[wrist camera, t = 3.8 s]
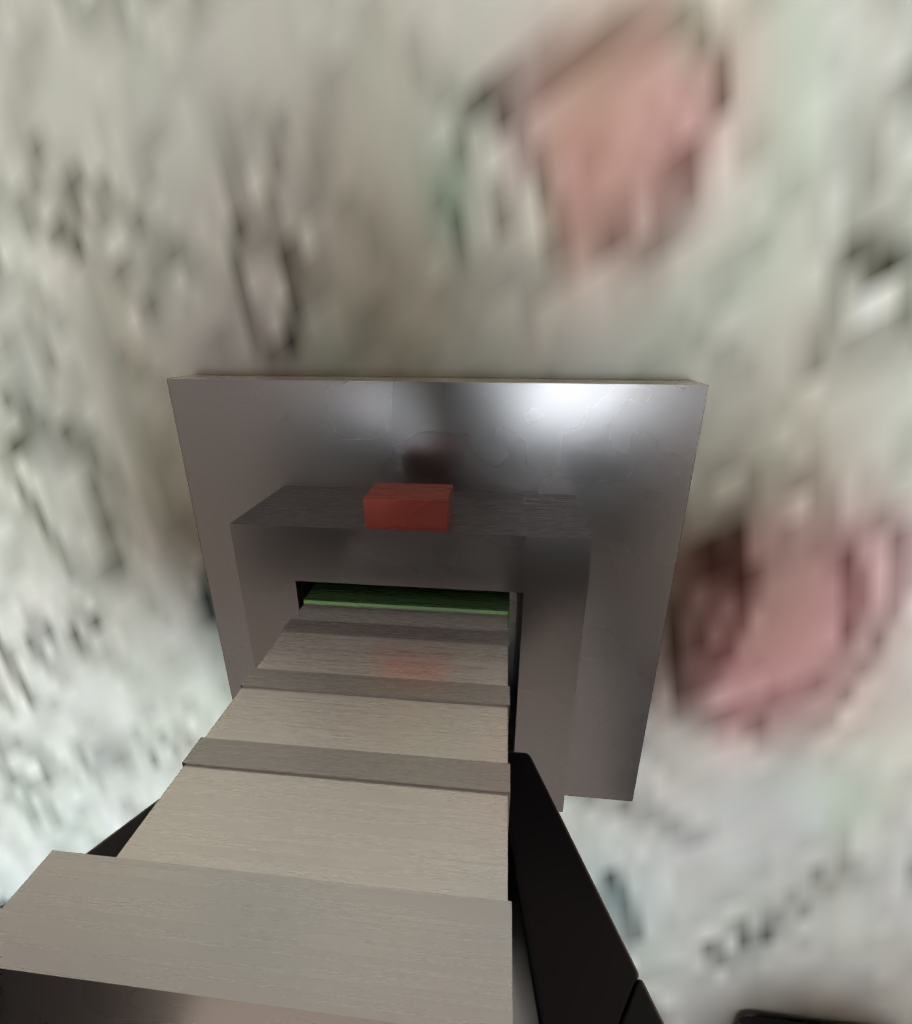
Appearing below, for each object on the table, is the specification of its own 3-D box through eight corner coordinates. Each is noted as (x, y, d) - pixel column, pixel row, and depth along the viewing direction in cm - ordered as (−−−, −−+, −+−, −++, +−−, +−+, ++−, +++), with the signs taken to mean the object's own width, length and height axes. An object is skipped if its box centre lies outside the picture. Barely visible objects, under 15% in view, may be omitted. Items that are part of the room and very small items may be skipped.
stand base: (691, 380, 11) (769, 402, 8) (624, 772, 15) (656, 892, 12) (192, 375, 12) (76, 392, 9) (261, 741, 16) (199, 844, 13)
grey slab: (510, 538, 11) (518, 1040, 3) (501, 734, 13) (493, 1328, 5) (330, 530, 11) (-51, 960, 3) (349, 722, 13) (134, 1258, 5)
